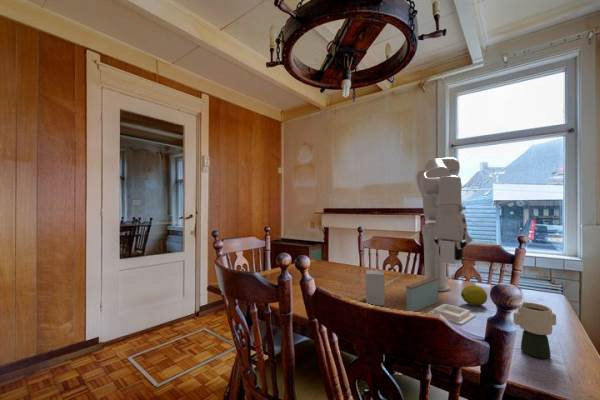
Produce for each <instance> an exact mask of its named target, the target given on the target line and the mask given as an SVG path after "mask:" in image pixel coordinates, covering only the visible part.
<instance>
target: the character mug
mask: <svg viewBox="0 0 600 400" xmlns="http://www.w3.org/2000/svg"><path fill="white" fill-rule="evenodd" d="M522 302H523V305H522V306H521V308H519V309H518V308H517V309H518V310H517V312H514V313H513V324H514V323H515V324H516V325H517V326H519V327H520V328H521V329H522V330H523V332H522V335H521V342H520V350H522V351H523V352H525V353H527V354H528V355H531V356H534V357H537V358H540V359H549V358H551V357H552V356H551V355H552V354H551V349H550V348H551V347H550V343H549V337H548V336H549V335H552V333H553V326H556V325H557V314H556V313H554V312H553V310H552V309H551V308H550V307H548V306H547V305H543V304H539V303H536V302H527V301H522ZM515 324H514V325H515ZM516 325H515V326H516Z"/></svg>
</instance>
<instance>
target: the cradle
mask: <svg viewBox="0 0 600 400" xmlns="http://www.w3.org/2000/svg"><path fill="white" fill-rule="evenodd" d="M430 312H432V314H441V315H442V316H444V317H445V318H446V319H447V320H448V321H447V320H446V321H447V322H450V323H454V324H457V325H459V326H464V325H465V324H467V323H468V322H469V321H471V320H473V319H474V318H475V317H477V314H474V313H471V310H470V309H466V308H462V307H459V306H456V305H452V304H447V303H443V304H441V305H439V306H437V307H434V308H433V309H432V310H431V311H428V312H427V313H430Z"/></svg>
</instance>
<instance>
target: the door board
mask: <svg viewBox="0 0 600 400" xmlns="http://www.w3.org/2000/svg"><path fill="white" fill-rule="evenodd" d="M437 280H438V278H435V277H431V278H428V279H425V278H424V279H423V280H420V281H416V282H414V283H410V284H408V285H406V286H405V287H406V289H405V290H406V291H405V292H406V312H407V311H415V312H418V311H421V310H422V309H425V308H427V307H428V306H431V305H433V304H435V303H437V302H439V300H438V299H439V297H438V296H439V294H438V293H439V291H438V282H437ZM415 312H414V313H415Z"/></svg>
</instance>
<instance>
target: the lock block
mask: <svg viewBox="0 0 600 400" xmlns="http://www.w3.org/2000/svg"><path fill="white" fill-rule="evenodd" d="M456 249H457V246H456V241H452V240H440V262H444V263H446V264H451V265H456V264H460V263H461V262H462V259H461V260H456Z"/></svg>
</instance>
